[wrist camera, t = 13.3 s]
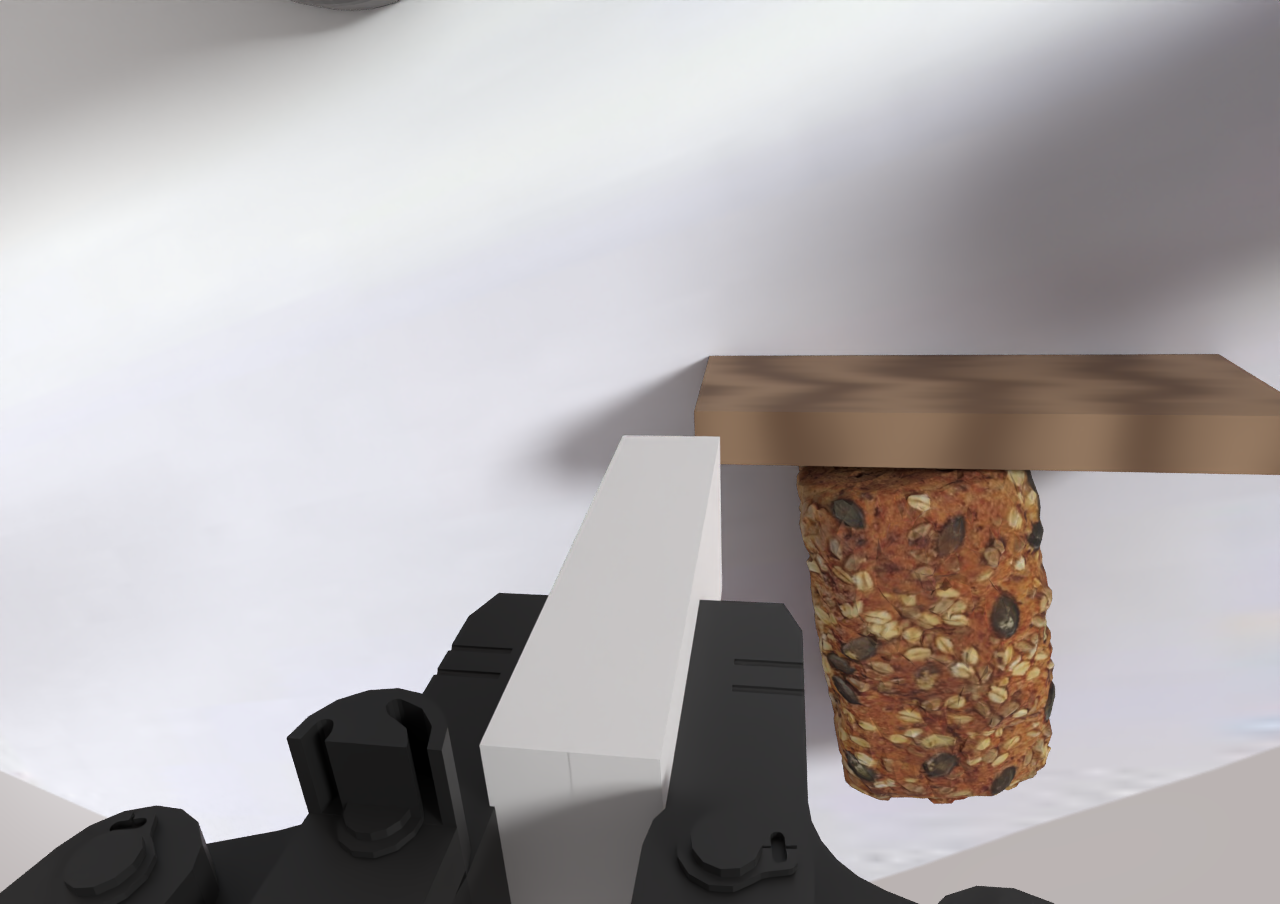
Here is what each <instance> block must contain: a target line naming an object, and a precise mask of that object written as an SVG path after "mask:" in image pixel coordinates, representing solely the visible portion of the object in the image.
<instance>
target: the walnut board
mask: <svg viewBox="0 0 1280 904" xmlns="http://www.w3.org/2000/svg"><path fill="white" fill-rule="evenodd" d="M694 423H695V436H713V437H720V464H739V465H791V466H843V467H895V468H947V469H999V470H1051V471H1103V472H1156V473H1208V474H1260V475H1280V392H1279V391H1278V390H1276V389H1274V388H1273V387H1271V386H1269V385H1268V384H1266V383H1265V382H1263V381H1261V380H1260V379H1258V378H1256V377H1255V376H1253V375H1252V374H1250V373H1248V372H1247V371H1245V370H1243V369H1242V368H1240V367H1239V366H1237V365H1235V364H1234V363H1232V362H1230V361H1229V360H1227V359H1226V358H1224V357H1222V356H1221V355H1219V354H1153V355H843V356H709V360H708V363H707V367H706V371H705V374H704V378H703V381H702V385H701V388H700V392H699V396H698V399H697V403H696V406H695V410H694Z"/></svg>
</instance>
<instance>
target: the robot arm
mask: <svg viewBox="0 0 1280 904" xmlns="http://www.w3.org/2000/svg"><path fill="white" fill-rule="evenodd" d="M291 1H294V2H298V3H302V4H306V5H312V6H317V7H323V8H329V9H336V10H365V9H372V8H377V7H381V6H385V5H388V4H391V3H394V2H396V1H399V0H291ZM721 593H722V550H721V482H720V437H713V436H638V435H623V436H622V438H621V441H620V443H619V445H618V447H617V449H616V451H615V454H614V456H613V458H612V460H611V462H610V464H609V466H608V469H607V471H606V473H605V475H604V477H603V479H602V482H601V484H600V486H599V488H598V490H597V492H596V495H595V497H594V499H593V501H592V503H591V505H590V507H589V510H588V512H587V514H586V516H585V518H584V520H583V523H582V525H581V527H580V529H579V531H578V533H577V536H576V538H575V540H574V542H573V544H572V546H571V548H570V551H569V553H568V555H567V557H566V559H565V561H564V564H563V566H562V568H561V570H560V572H559V574H558V577H557V579H556V581H555V583H554V585H553V587H552V589H551V592H550V594H549V595H531V594H511V593H498V594H497V595H496V596H494V597H493V598H492V599H490V600H489V601H488V602H487V603H485V604H484V605H483V606H481V607H480V608H479V609H478V610H476V611H475V612H474V613H472V614H471V615H470V616H469V617H468V618H467V620H466V622H465V623H464V625H463V627H462V629H461V630H460V632H459V634H458V635H457V637H456V639H455V640H454V642H453V644H452V650H451V651H449V650H448V652H447V654H446V655H445V657H444V659H443V660H442V662H441V664H440V665H439V667H438V672H437V675H433V677H432V679H431V681H430V682H429V684H428V686H427V687H426V689H425V691H424V692H423V694H421V693H417V692H412V691H408V690H404V689H399V688H395V689H380V690H368V691H365V692H361V693H358V694H355V695H352V696H348V697H345V698H342V699H339V700H336V701H335V702H333V703H331V704H329V705H328V706H326V707H324V708H322V709H321V710H319V711H317V712H315V713H314V714H312V715H310V716H309V717H308V718H306V719H305V720H304V721H303V722H302V723H301V724H300V725H299V726H298V727H297V728H296V729H295V730H294V731H293V732H292V733H291V734H290V735H289V736H288V737H287V741H288V745H289V748H290V751H291V755H292V758H293V761H294V765H295V768H296V772H297V775H298V778H299V782H300V785H301V788H302V792H303V795H304V799H305V802H306V805H307V809H308V812H309V814H308V815H307V817H306V818H305V820H304V821H303V823H302V824H301V825H298V826H294V827H290V828H287V829H283V830H279V831H274V832H269V833H263V834H258V835H252V836H247V837H241V838H236V839H231V840H225V841H220V842H214V843H209V844H206V842H205V839H204V837H203V834H202V831H201V829H200V826H199V823H198V822H197V821H196V820H195V819H194V818H192V817H191V816H190V815H189V814H187V813H186V812H185V811H184V810H182V809H177V808H170V807H163V806H151V807H145V808H140V809H134V810H129V811H124V812H121V813H119V814H117V815H114V816H112V817H109V818H107V819H105V820H102V821H100V822H97V823H95V824H93V825H91V826H89V827H87V828H86V829H84V830H83V831H81V832H80V833H78V834H76V835H75V836H73V837H72V838H70V839H69V840H67V841H66V842H64V843H63V844H61V845H60V846H58V847H57V848H56V849H54V850H53V851H52V852H51V853H49V854H48V855H47V856H46V857H44V858H43V859H42V860H41V861H39V862H38V863H37V864H36V865H35V866H33V867H32V868H31V869H30V870H29V871H27V872H26V873H25V874H24V875H22V876H21V877H20V878H19V879H17V880H16V881H15V882H13V883H12V884H11V885H10V886H8V887H7V888H6V889H5V890H3V891H2V892H1V893H0V904H918V903H915V902H913V901H910V900H908V899H905V898H903V897H900V896H898V895H896V894H893V893H890V892H888V891H886V890H883V889H881V888H879V887H878V886H876V885H874V884H872V883H870V882H868V881H866V880H864V879H862V878H860V877H858V876H857V875H856V874H854V873H853V872H852V871H851V870H849V869H848V868H847V867H846V866H844V865H843V864H842V863H841V862H839V861H838V860H837V859H836V858H835V857H834V855H833V854H832V853H831V852H830V851H829V849H828V848H827V847H826V846H825V845H824V843H823V842H822V841H821V839H820V837H819V835H818V833H817V831H816V829H815V827H814V825H813V823H812V821H811V815H810V810H809V805H808V790H807V759H806V729H805V699H804V669H803V638H802V630H801V628H800V627H799V626H798V624H797V623H796V621H795V620H794V618H793V617H792V615H791V614H790V612H789V611H788V609H787V608H786V607H785V605H784V604H780V603H759V602H738V601H721ZM938 904H1054V903H1052V902H1049V901H1046V900H1044V899H1041V898H1038V897H1035V896H1033V895H1030V894H1028V893H1025V892H1022V891H1020V890H1017V889H1014V888H1001V887H986V886H975V887H972V888H969V889H965V890H962V891H959V892H956V893H953V894H950V895H947V896H945V897H944V898H943V899H942V900H941V901H940V902H939V903H938Z"/></svg>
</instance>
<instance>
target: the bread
mask: <svg viewBox="0 0 1280 904" xmlns="http://www.w3.org/2000/svg"><path fill="white" fill-rule="evenodd" d="M796 485H797V490H798V495H799V498H800V501H801V503H800V506H799V509H800V512H801V514H800V523H799V525H800V529H801V533H802V537H803V541H804V544H805V547H806V549H807V551H808V552H809V554H810V557H809V559H808V560H807V561H806V562H807V565H808V568H809V571H810V576H811V593H812V601H813V606H814V610H815V624H816V629H817V633H818V637H819V648H820V652H821V655H822V665H823V668H824V672H825V678H826V681H827V683H828V690H829V696H830V699H831V702H832V706H833V710H834V724H835V731H836V736H837V741H838V746H839V752H840V753H841V755H842V764H843V770H844V777H845V781H846V782H847V783H848V784H849V785H850V786H851V787H852V788H854V789H856V790H858V791H860V792H862V793H864V794H866V795H869V796H871V797H874V798H876V799H879V800H887V801H888V800H889V799H890V798H891V797H913V798H928V799H929V800H930V801H931V802H933V803H934V804H944V803H953V801H954V800H961V799H965V798H967V797H971V796H994V795H997V794H998V793H1000V792H1001V791H1003V790H1004V789H1005V790H1010V789H1012V788H1014V787H1017V785H1018V784H1019V782H1022V781H1024V780H1027V779H1029V778H1033V777H1034V776H1035V775H1036V774H1037V771H1038V770H1040V769H1041V768H1043V767H1044V766H1045V764H1046V759H1047V756H1048V753H1049V751H1050V750H1051V748H1050V747H1049V746H1048V744H1049V741H1050V738H1051V735H1052V730H1051V725H1050V720H1049V717H1050V714H1051V711H1052V706H1053V702H1054V698H1055V685H1054V684H1053V682H1052V679H1053V675H1052V671H1053V668H1054V663H1053V662H1052V660H1051V659H1050V657H1051V653H1052V649H1053V648H1052V646H1051V643H1050V639H1051V632H1050V630H1049V628H1048V627H1047V625H1046V623H1047V621H1046V617H1045V615H1046V611H1047V609H1048V608H1049V607H1050V604H1051V601H1052V590H1051V589H1050V588H1049V587H1048V584H1047V577H1046V572H1045V569H1044V567H1043V564H1042V553H1041V550H1040V544H1041V540H1042V535H1043V527H1042V524H1041V521H1040V508H1041V507H1040V500H1039V495H1038V492H1037V490H1036V487H1035V485H1034V482H1033V479H1032V476H1031V472H1030V470H999V469H947V468H895V467H843V466H799V473H798V475H797V484H796Z"/></svg>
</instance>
